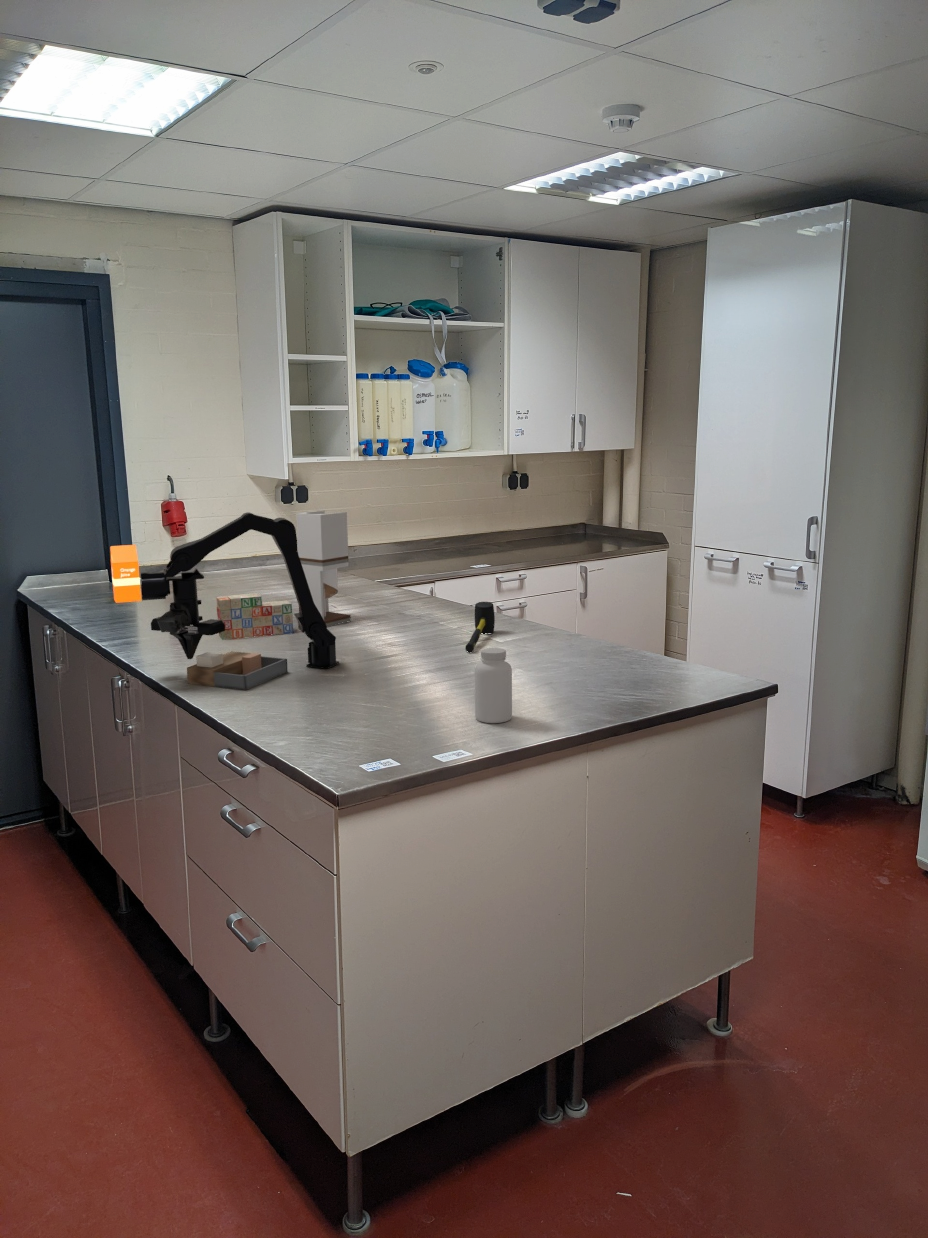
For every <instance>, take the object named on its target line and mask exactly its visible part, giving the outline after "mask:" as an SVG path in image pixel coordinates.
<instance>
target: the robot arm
mask: <svg viewBox="0 0 928 1238" xmlns="http://www.w3.org/2000/svg"><path fill="white" fill-rule="evenodd" d="M248 531H255V532H259V533H263V534H264V535H265V534H266V535H269V536H271V538H272V539H273V541H274V544H275V545H276V547H277V548H278V551H279V552H280V553H281V556H282V558H283V559H282V560H283V562H284V564H285V567H286V570H287V574H288V576H289V580H290V583H291V585H292V589H293V592H294V595H295V598H296V602H297V604H298V612H296V613H294V614H293V615H294V616H295V618H296V621H297V623H298V624H297V628H298V629H299V630H300V631H301V632H302V633H303V634H305V636H307V638H308V639H309V640H310V641H309V642H308V647H307V662H308V663H307V664H306V667H307V668H315V669H316V668H317V669H330V668H332V667H334V666H337V665H338V664H340V661H338V660H337V652H336V651H337V650H336V648H337V647H336V640H337V637H336V636H335V635H334V634H333V633H332V632H331V630H329V629H328V627H327V625H326V623H325V621H324V620H323V618H322V616H321V614H320V612H319V611H318V609H317V607H316V605H315V604H314V601H313V598H312V595H311V592H310V589H309V586H308V583H307V580H306V576H305V573H304V570H303V567H302V564H301V561H300V558H299V555H298V540H297V528H296V526H295V524H294V523H293V522H292V521H290V520H289V519H287V518H285V517H276V518H274V519H273V518H269V517H267V516H262V515H259V514H258V515H257V514H255V513H253V512H249V511H247V512H244V513H243V514H242V515H240V516H239V517H237V518H236V519H234V520H232V521H230V522H228V523H226V524H225V525H223V526H221V527H219V528H218V529H216V530H214V531H212V532H210V533H209V534H207V535H205V536H203V537H201V538H199V539H196V540H193V541H189V542H186V543H183V544H180V545H178V546H175V547H174V548H173V549H172V550H170V551H171V552H170V553H169V554H170V555H169V559H170V560H169V562H168V563H167V564H166V566H165V567H164V569H163V571H156V572H155V571H154V572H149V571H147V572H146V571H144V572H143V571H142V572H140V590H141V601H142V602H143V601H151V600H152V601H155V600H167V597H168V596H169V595H171V587H170V585H171V583H170V582H172V596H173V598H172V599H173V602H170V604H169V611H166V612H164V614H162V615H161V616H158V617H155V618H152V619H151V621H150V629H151V630H150V631H155V632H161V633H169V635H170V636H173V637H175V638H176V639H177V640H178V642H179V643H180V645H181V648H182V650H183V652H184V654H185V657H186V658H187V660H192V659H193V658H194V656H195V654H196V651H197V648H198V646H199V643H200V641H201V639H202V637H203V636H214V635H216V634H219V633H220V632H223V631H225V624H224V622H223V621H222V620H218V619H212V618H211V619H207V620H204V619H203V616H202V615H200V613H199V605H202V600H201V599H199V598H198V586H197V580H204V578H205V576H204V574H203V573H202V572H200V571H199V570H198V568H195V566H197V565H199V564H200V562H202V561H203V560H204V558H206V556H208V555H209V554H210V553H212V552H213V551H216V550H218V549H219V548H221V547H222V546H224V545H226V544H228V543H229V542H231V541H233V540H235V539H237V538H238V537H240V536H242V535H243V534H245V533H247V532H248ZM193 568H194V570H193V571H190V570H192V569H193ZM188 571H189V572H188ZM178 574H180V575H178ZM203 620H204V621H203Z"/></svg>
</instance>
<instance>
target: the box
mask: <svg viewBox="0 0 928 1238" xmlns="http://www.w3.org/2000/svg"><path fill="white" fill-rule="evenodd" d="M261 666H262V668H261V669H258V670H256V671H253V672H251V673H249V674H246V675H244V674H243V673H242V674H240V675H237V674H228V673H219V672H214V685H215V687H216V688H221V689H222V688H223V689H224V688H225V689H233V690H238V691H239V690H241V691H247V690H250V689H252V688H254V687H256V686H259V685H261V684H264V683H266V682H268V681H270V680H273V679H274V678H277V677H281V676H282V675H284V674H287V673H289V672H288V670H289V669H288V658H282V657H275V656H274V657H273V656H264V655H263V656H262V655H261ZM215 687H214V688H215Z"/></svg>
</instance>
